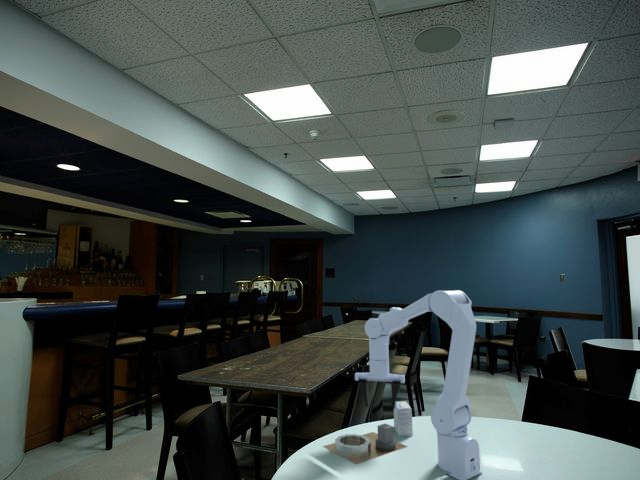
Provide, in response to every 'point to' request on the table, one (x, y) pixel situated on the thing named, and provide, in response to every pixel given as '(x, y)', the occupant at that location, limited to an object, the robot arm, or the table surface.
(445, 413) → the robot arm
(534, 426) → the table surface
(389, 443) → the cap
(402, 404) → the medicine box
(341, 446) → the board with octagonal ring
